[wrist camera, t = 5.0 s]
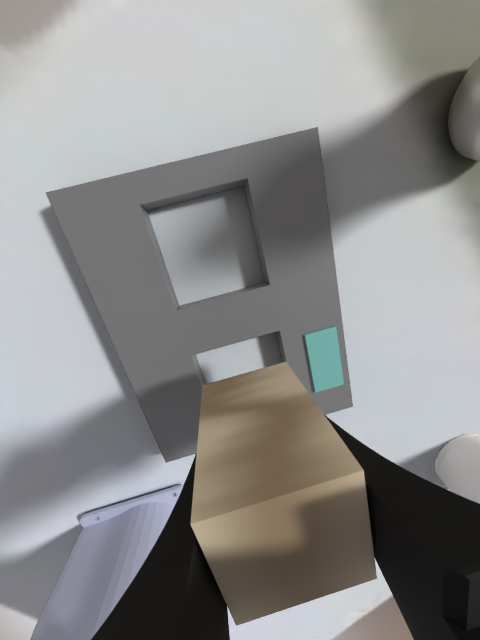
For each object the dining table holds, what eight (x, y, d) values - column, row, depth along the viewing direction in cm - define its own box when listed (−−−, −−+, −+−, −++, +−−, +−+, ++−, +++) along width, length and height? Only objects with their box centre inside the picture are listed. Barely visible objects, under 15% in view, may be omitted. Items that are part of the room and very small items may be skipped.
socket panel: (169, 447, 20) (165, 464, 18) (62, 199, 14) (42, 191, 12) (342, 396, 20) (354, 407, 19) (307, 140, 15) (319, 125, 13)
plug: (225, 452, 14) (236, 625, 7) (202, 385, 13) (190, 524, 6) (300, 429, 14) (376, 578, 8) (286, 361, 13) (363, 470, 6)
